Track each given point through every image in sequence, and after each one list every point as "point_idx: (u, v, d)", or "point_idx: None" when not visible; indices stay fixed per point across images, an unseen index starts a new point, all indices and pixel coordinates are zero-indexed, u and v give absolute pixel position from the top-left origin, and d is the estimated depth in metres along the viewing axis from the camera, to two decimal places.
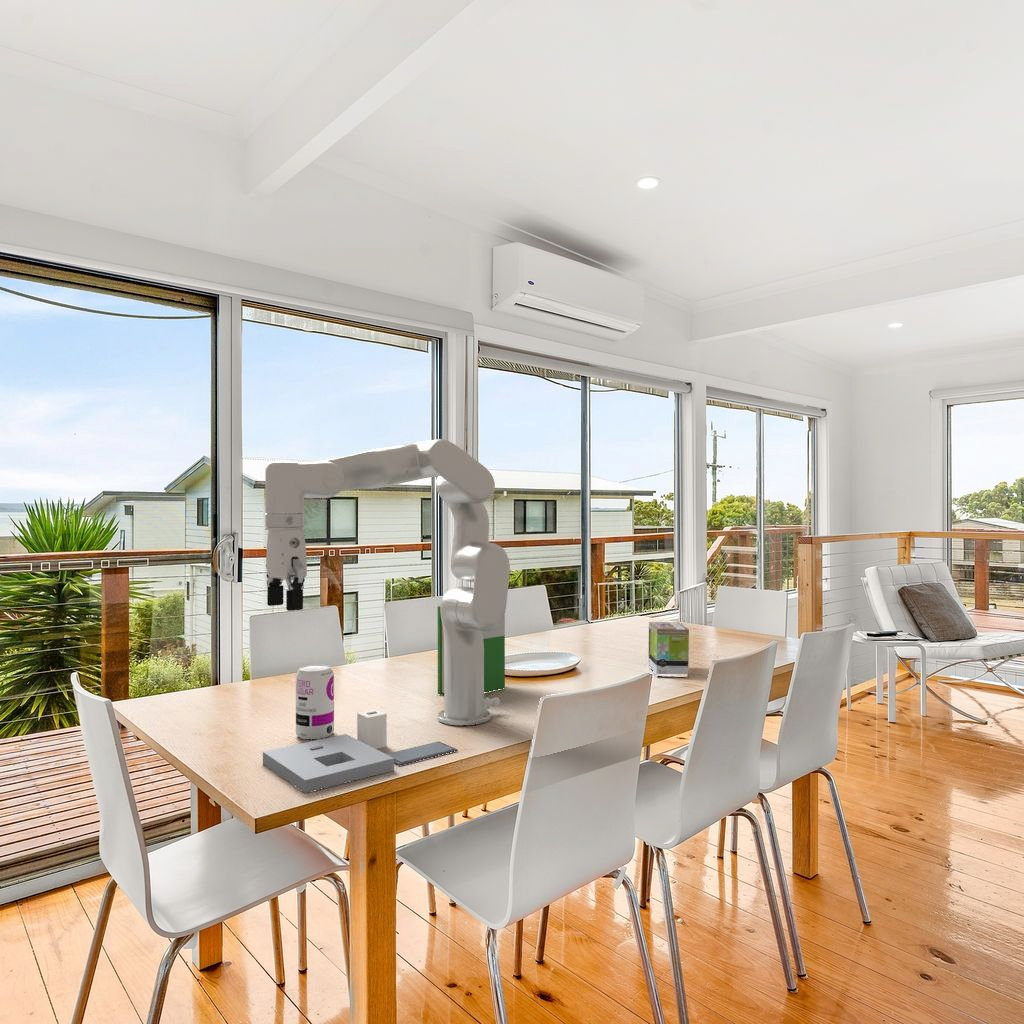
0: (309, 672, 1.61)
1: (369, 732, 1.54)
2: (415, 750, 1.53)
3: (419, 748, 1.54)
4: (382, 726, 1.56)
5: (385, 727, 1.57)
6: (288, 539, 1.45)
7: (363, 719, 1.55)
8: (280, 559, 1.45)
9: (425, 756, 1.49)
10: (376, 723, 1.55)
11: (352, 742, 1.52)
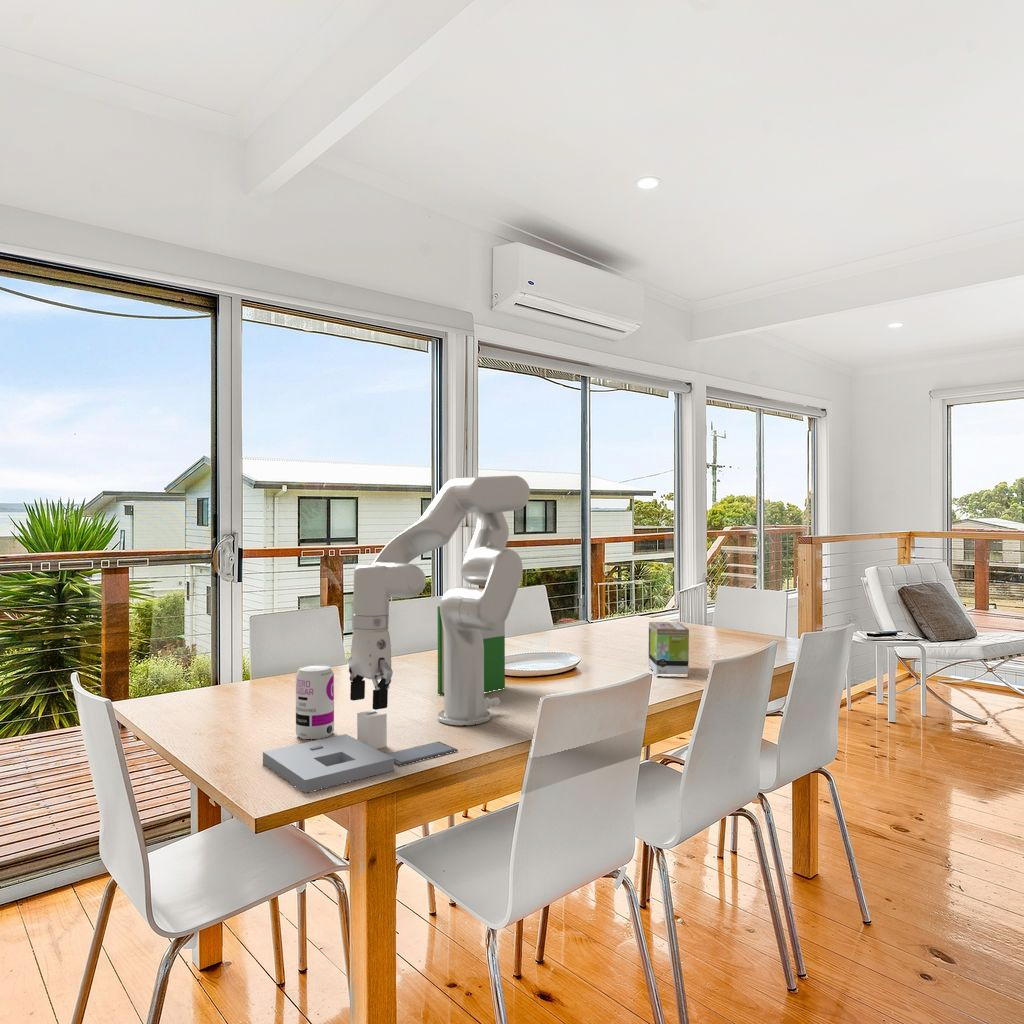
0: (309, 672, 1.61)
1: (369, 732, 1.54)
2: (415, 750, 1.53)
3: (419, 748, 1.54)
4: (382, 726, 1.56)
5: (385, 727, 1.57)
6: (376, 641, 1.52)
7: (363, 719, 1.55)
8: (367, 660, 1.53)
9: (425, 756, 1.49)
10: (376, 723, 1.55)
11: (352, 742, 1.52)
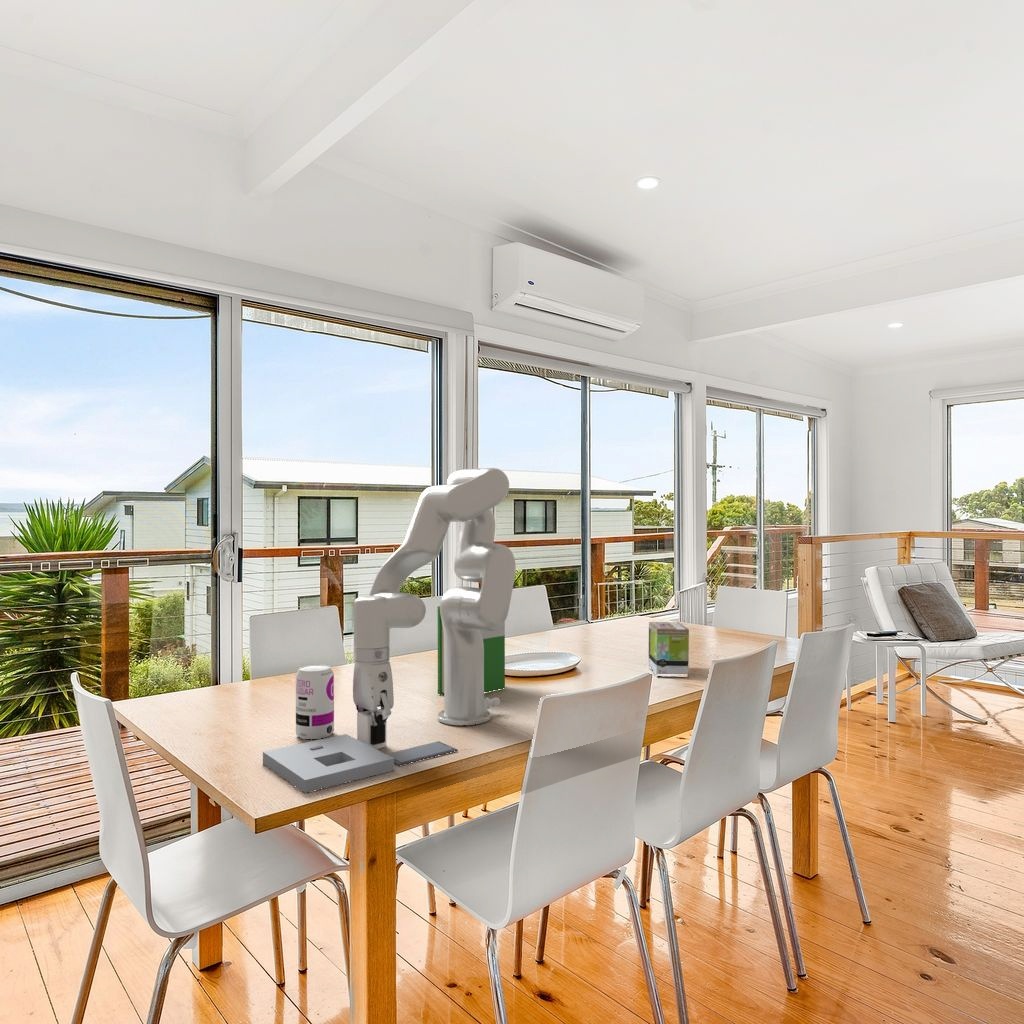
0: (309, 672, 1.61)
1: (369, 732, 1.54)
2: (415, 750, 1.53)
3: (419, 748, 1.54)
4: None
5: (385, 727, 1.56)
6: (377, 674, 1.53)
7: (362, 719, 1.55)
8: (369, 692, 1.53)
9: (425, 756, 1.49)
10: None
11: (352, 742, 1.52)
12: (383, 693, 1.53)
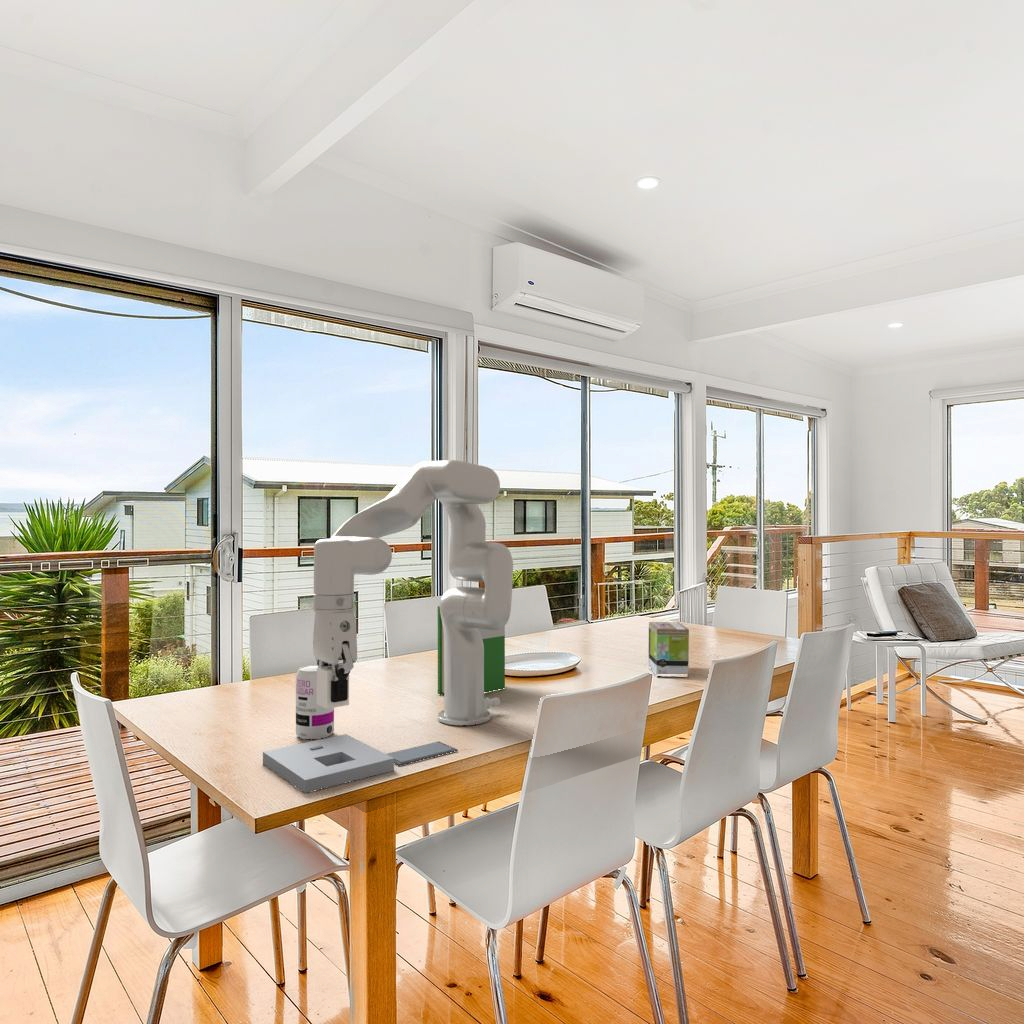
0: (309, 672, 1.61)
1: (329, 687, 1.39)
2: (415, 750, 1.53)
3: (419, 748, 1.54)
4: None
5: None
6: (338, 623, 1.37)
7: (322, 674, 1.40)
8: (330, 643, 1.38)
9: (425, 756, 1.49)
10: None
11: (352, 742, 1.52)
12: (345, 644, 1.38)
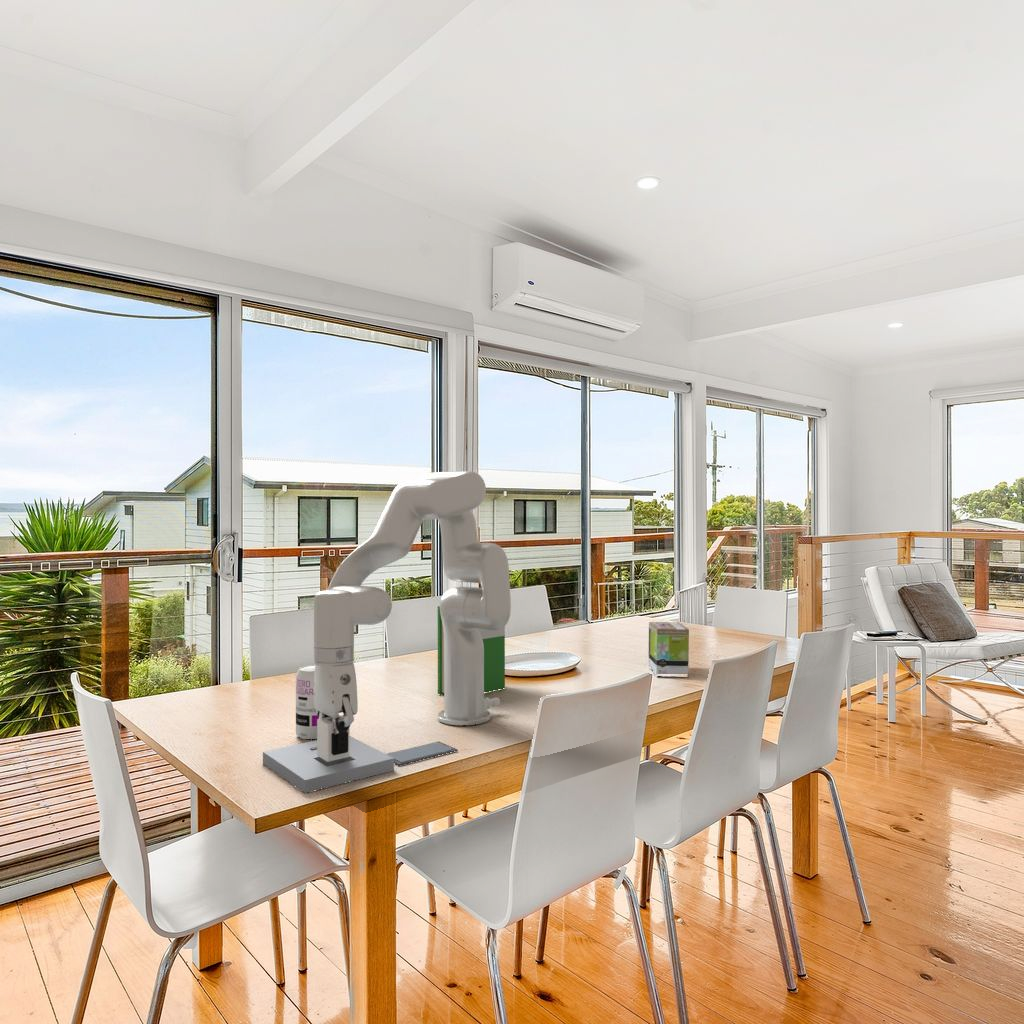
0: (309, 672, 1.61)
1: (329, 740, 1.39)
2: (415, 750, 1.53)
3: (419, 748, 1.54)
4: None
5: (348, 735, 1.41)
6: (339, 676, 1.37)
7: (323, 726, 1.40)
8: (330, 697, 1.38)
9: (425, 756, 1.49)
10: None
11: (352, 742, 1.52)
12: (345, 697, 1.38)
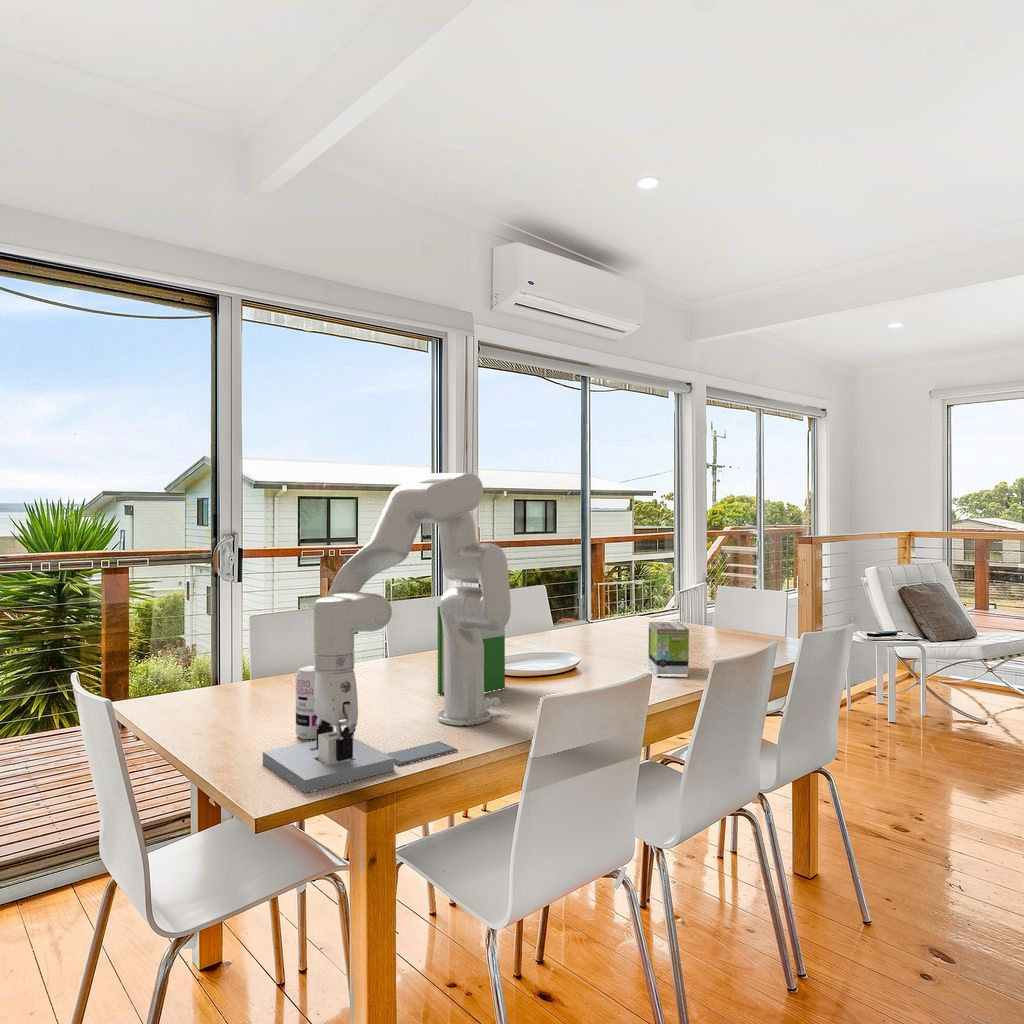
0: (309, 672, 1.61)
1: (330, 756, 1.39)
2: (415, 750, 1.53)
3: (419, 748, 1.54)
4: None
5: None
6: (339, 684, 1.37)
7: (323, 742, 1.40)
8: (331, 704, 1.38)
9: (425, 756, 1.49)
10: None
11: None
12: None
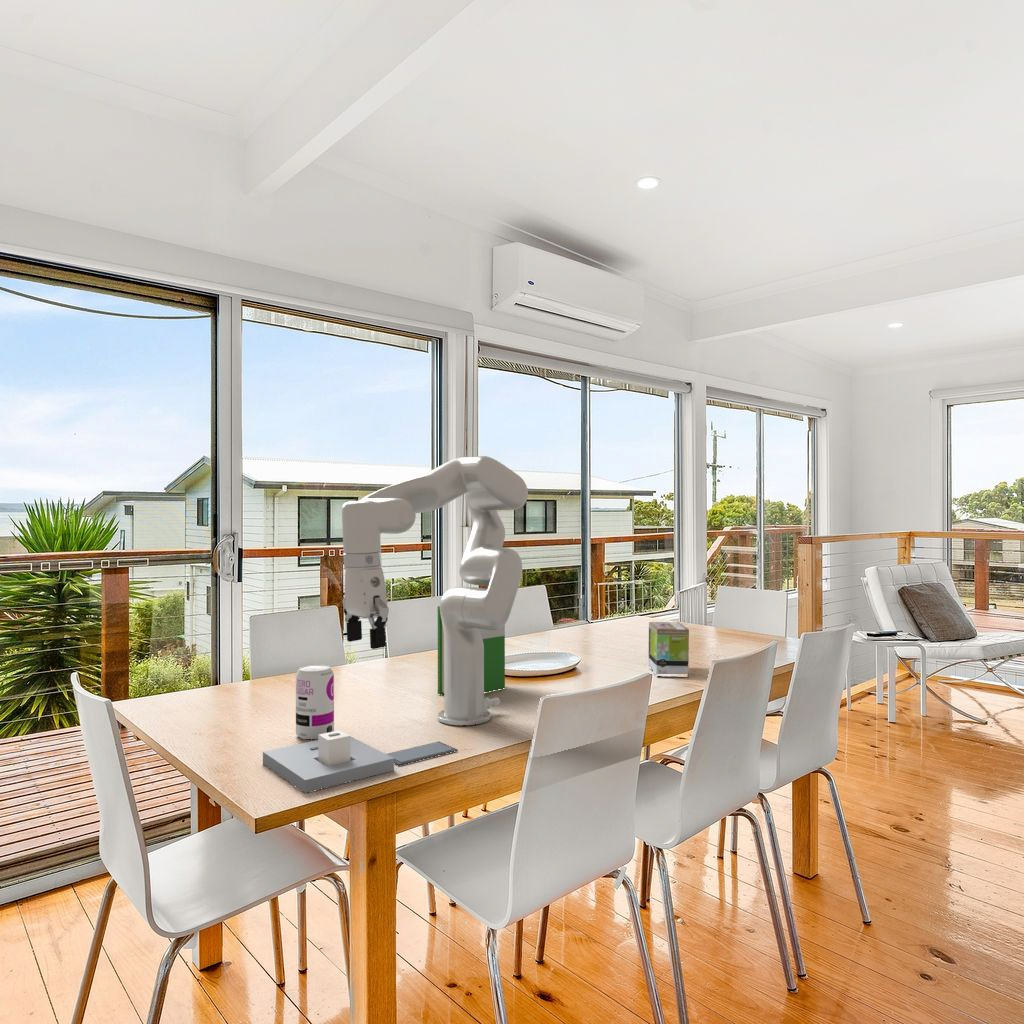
0: (309, 672, 1.61)
1: (330, 756, 1.39)
2: (415, 750, 1.53)
3: (419, 748, 1.54)
4: (345, 749, 1.41)
5: (349, 750, 1.41)
6: (369, 579, 1.47)
7: (323, 742, 1.40)
8: (362, 598, 1.47)
9: (425, 756, 1.49)
10: (339, 747, 1.40)
11: (352, 742, 1.52)
12: None
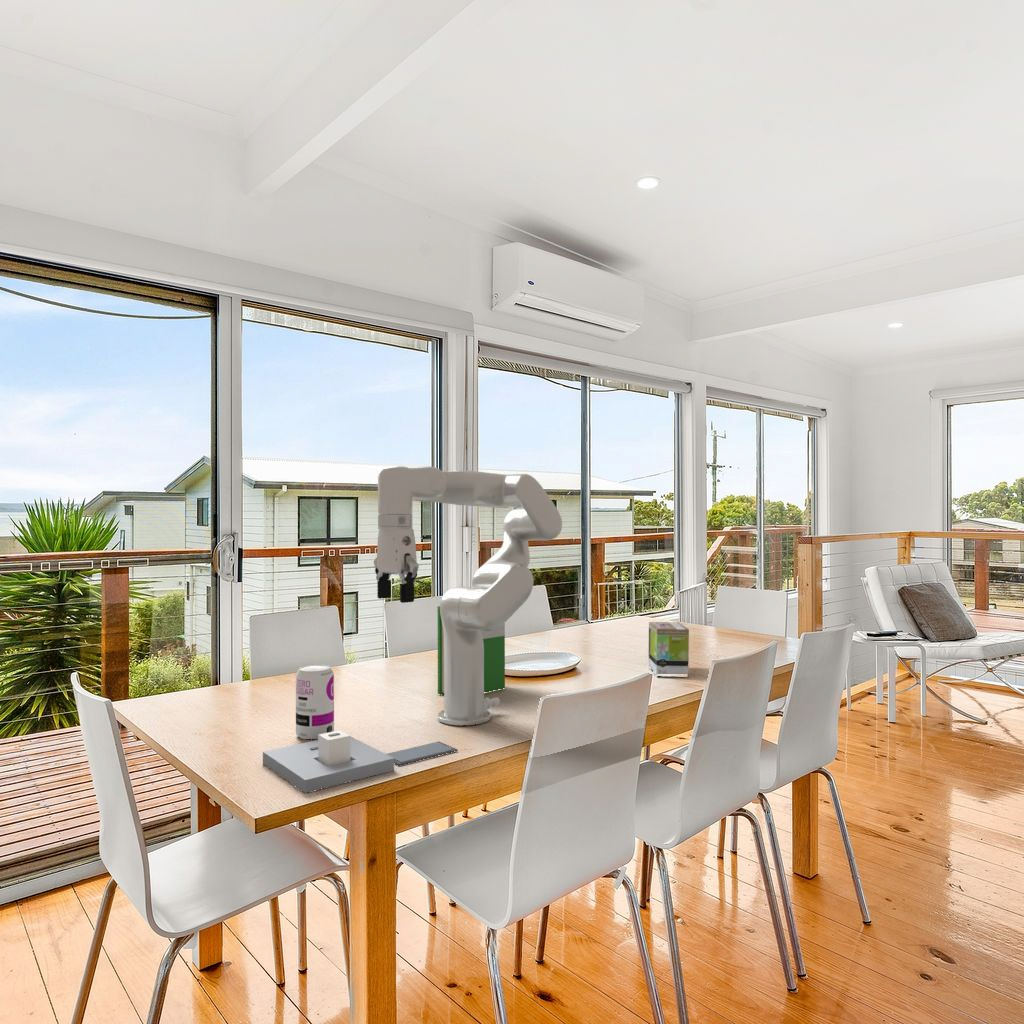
0: (309, 672, 1.61)
1: (330, 756, 1.39)
2: (415, 750, 1.53)
3: (419, 748, 1.54)
4: (345, 749, 1.41)
5: (349, 750, 1.41)
6: (401, 537, 1.59)
7: (323, 742, 1.40)
8: (394, 556, 1.59)
9: (425, 756, 1.49)
10: (339, 747, 1.40)
11: (352, 742, 1.52)
12: None
